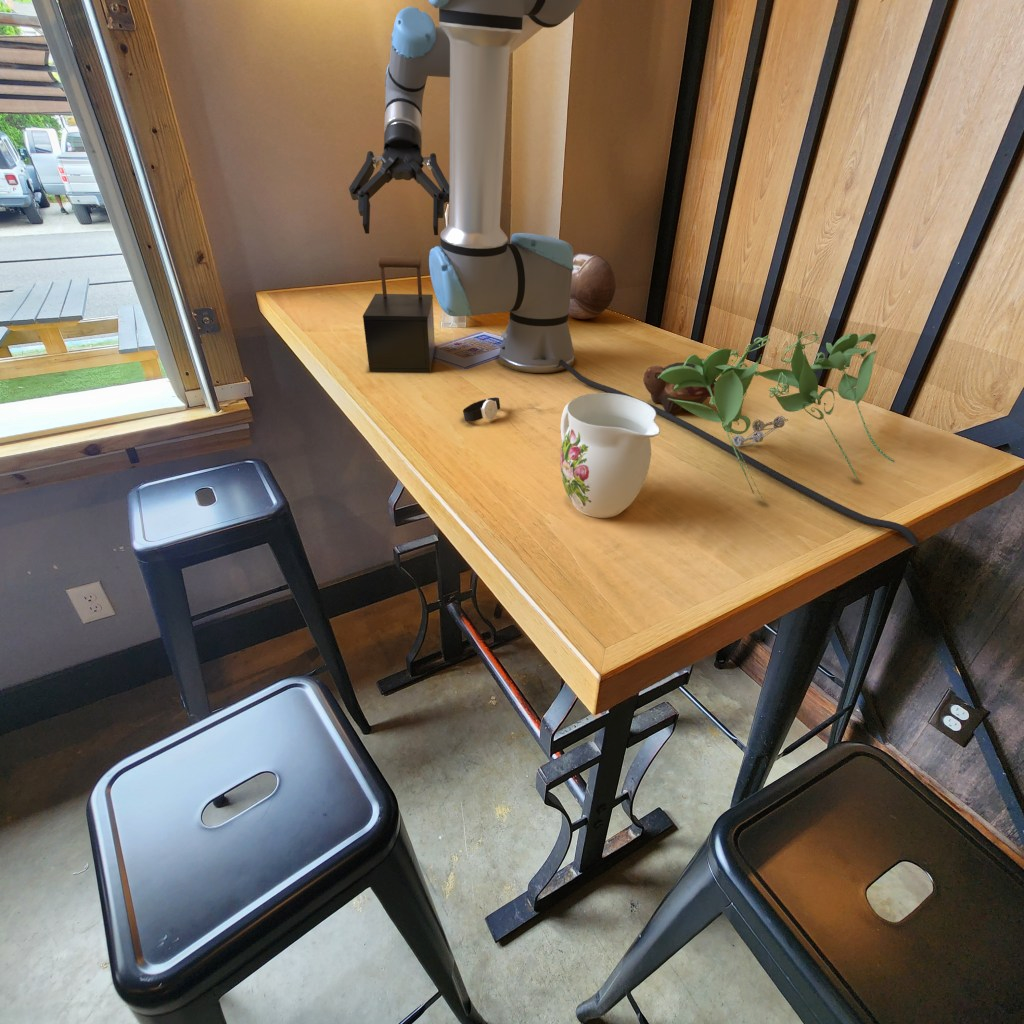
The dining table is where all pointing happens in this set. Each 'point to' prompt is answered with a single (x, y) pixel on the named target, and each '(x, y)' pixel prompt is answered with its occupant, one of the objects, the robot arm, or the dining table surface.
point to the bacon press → (399, 296)
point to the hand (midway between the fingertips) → (400, 230)
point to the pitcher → (605, 451)
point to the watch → (482, 410)
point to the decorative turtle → (665, 390)
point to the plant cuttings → (802, 376)
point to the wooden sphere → (590, 286)
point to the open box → (400, 344)
